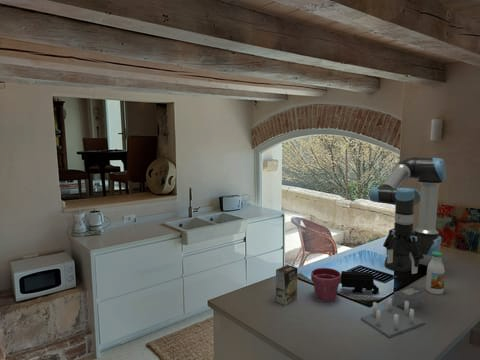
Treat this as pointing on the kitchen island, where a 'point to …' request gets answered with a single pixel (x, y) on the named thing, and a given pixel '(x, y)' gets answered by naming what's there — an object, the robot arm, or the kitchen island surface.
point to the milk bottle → (435, 274)
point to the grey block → (408, 298)
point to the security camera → (358, 281)
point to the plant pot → (326, 283)
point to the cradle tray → (392, 319)
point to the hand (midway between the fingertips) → (401, 267)
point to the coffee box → (286, 284)
